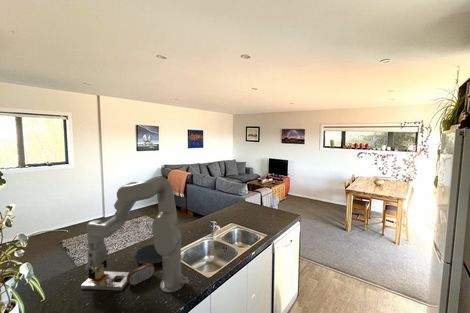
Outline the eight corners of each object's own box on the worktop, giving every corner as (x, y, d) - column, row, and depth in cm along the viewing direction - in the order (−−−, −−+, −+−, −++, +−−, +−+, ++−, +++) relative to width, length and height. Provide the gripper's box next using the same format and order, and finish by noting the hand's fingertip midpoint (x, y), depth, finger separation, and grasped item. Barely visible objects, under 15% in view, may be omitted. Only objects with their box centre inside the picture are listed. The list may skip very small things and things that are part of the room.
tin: (153, 273, 130) (153, 260, 129) (156, 276, 128) (155, 262, 127) (126, 286, 120) (125, 271, 119) (128, 289, 117) (128, 274, 116)
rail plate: (133, 275, 128) (133, 271, 128) (121, 290, 116) (121, 286, 116) (96, 274, 129) (96, 270, 129) (81, 288, 117) (81, 284, 117)
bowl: (160, 246, 160) (160, 240, 160) (176, 260, 145) (176, 253, 144) (128, 258, 145) (128, 251, 144) (142, 275, 130) (142, 267, 129)
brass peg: (104, 279, 125) (103, 264, 124) (99, 284, 121) (98, 268, 120) (98, 279, 125) (97, 264, 124) (92, 283, 121) (91, 268, 120)
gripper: (91, 252, 112) (94, 283, 114) (112, 236, 129) (114, 263, 131) (77, 251, 112) (80, 283, 114) (100, 235, 129) (101, 263, 131)
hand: (98, 272), depth 122 cm, fingers open, 9 cm apart
